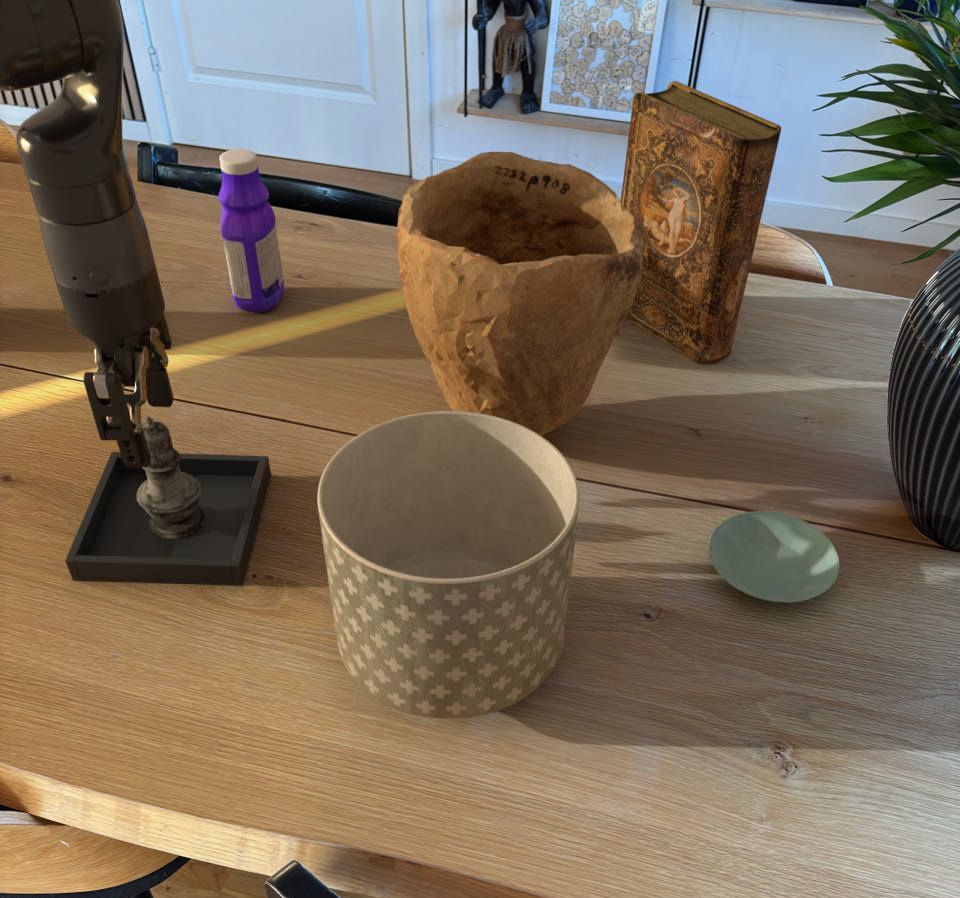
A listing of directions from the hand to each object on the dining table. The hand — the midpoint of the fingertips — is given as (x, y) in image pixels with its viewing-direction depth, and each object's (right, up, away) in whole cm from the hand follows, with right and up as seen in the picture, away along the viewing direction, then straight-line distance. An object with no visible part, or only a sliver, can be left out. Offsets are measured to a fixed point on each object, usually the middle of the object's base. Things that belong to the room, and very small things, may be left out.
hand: (150, 433), depth 89 cm
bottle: (+2, +23, +35) cm, 42 cm away
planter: (+27, -19, -2) cm, 33 cm away
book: (+52, +19, +32) cm, 64 cm away
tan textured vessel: (+32, +4, +19) cm, 37 cm away
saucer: (+56, -12, +5) cm, 57 cm away
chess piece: (0, -7, +8) cm, 11 cm away
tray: (0, -7, +8) cm, 11 cm away
